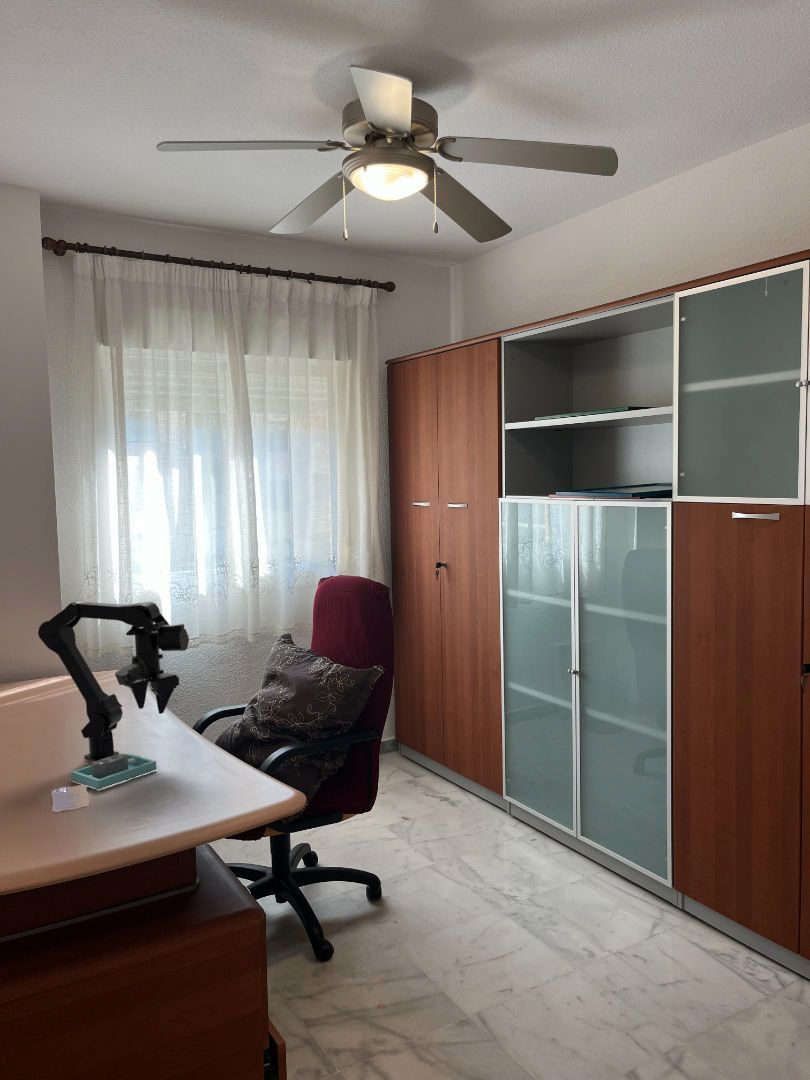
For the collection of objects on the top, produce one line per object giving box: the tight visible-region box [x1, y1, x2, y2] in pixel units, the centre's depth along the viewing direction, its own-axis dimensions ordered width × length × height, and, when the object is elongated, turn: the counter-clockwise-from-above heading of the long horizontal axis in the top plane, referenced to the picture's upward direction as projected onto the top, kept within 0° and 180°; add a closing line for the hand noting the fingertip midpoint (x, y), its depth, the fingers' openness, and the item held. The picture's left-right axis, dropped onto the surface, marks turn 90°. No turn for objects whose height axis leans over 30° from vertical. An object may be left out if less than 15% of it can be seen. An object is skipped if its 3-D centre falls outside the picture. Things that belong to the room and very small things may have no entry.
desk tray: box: [70, 752, 158, 789], centre depth 191 cm, size 12×16×2 cm
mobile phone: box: [51, 786, 80, 812], centre depth 178 cm, size 8×1×15 cm
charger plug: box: [90, 753, 136, 779], centre depth 191 cm, size 11×4×4 cm, turn 142°
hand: (151, 710), depth 205 cm, fingers open, 9 cm apart
